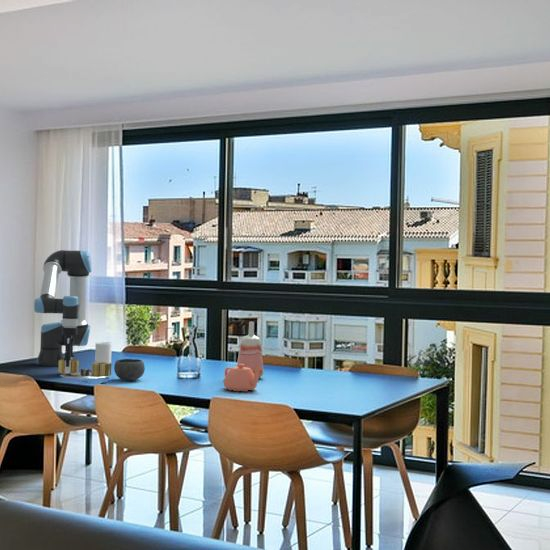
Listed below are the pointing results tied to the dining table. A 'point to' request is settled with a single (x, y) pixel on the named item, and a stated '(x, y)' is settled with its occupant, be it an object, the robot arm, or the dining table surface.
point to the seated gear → (101, 369)
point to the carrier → (81, 375)
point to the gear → (73, 366)
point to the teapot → (241, 378)
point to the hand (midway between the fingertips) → (68, 371)
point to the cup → (103, 352)
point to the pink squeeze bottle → (251, 351)
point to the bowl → (129, 369)
